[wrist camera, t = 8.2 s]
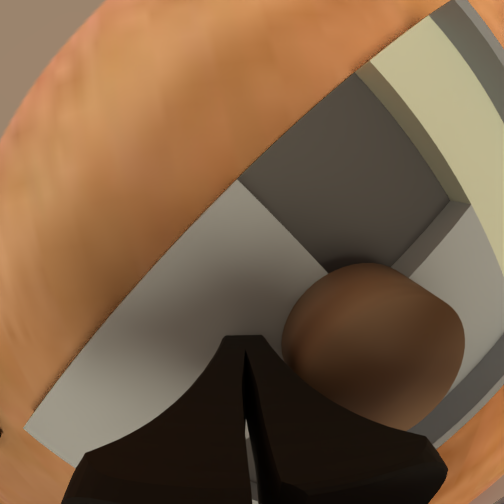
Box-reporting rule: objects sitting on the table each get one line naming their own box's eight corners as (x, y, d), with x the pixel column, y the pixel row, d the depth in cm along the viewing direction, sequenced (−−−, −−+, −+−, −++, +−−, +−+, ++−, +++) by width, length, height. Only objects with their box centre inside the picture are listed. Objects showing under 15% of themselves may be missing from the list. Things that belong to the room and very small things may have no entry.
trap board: (542, 252, 12) (580, 266, 9) (220, 519, 16) (220, 555, 12) (418, 21, 9) (461, -7, 6) (34, 411, 13) (9, 448, 9)
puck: (440, 322, 11) (483, 357, 8) (343, 413, 11) (366, 463, 8) (365, 228, 10) (413, 250, 7) (247, 346, 10) (253, 404, 7)
